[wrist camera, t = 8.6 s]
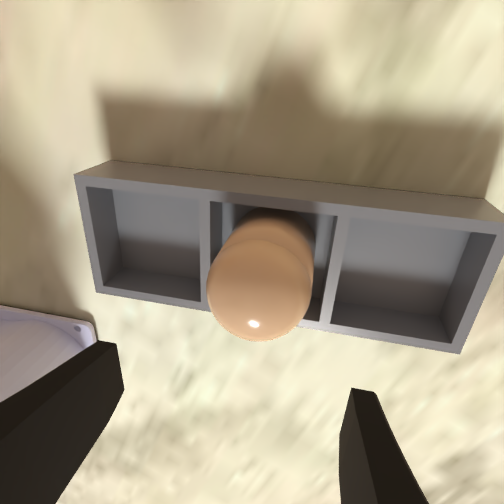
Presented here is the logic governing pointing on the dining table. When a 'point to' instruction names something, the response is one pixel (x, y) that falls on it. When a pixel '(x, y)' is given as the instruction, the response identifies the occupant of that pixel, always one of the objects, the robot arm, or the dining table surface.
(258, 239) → the egg
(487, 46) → the dining table surface
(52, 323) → the robot arm
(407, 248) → the egg holder
